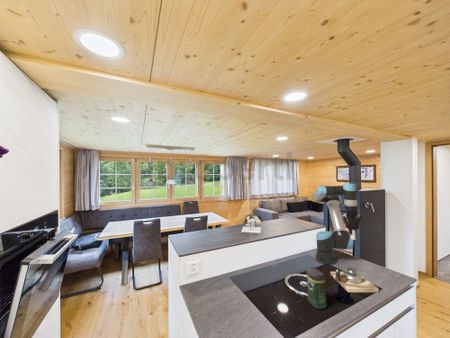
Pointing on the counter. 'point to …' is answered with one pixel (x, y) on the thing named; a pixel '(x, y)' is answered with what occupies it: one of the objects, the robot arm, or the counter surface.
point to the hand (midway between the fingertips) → (353, 239)
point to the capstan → (348, 276)
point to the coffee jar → (316, 288)
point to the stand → (357, 285)
